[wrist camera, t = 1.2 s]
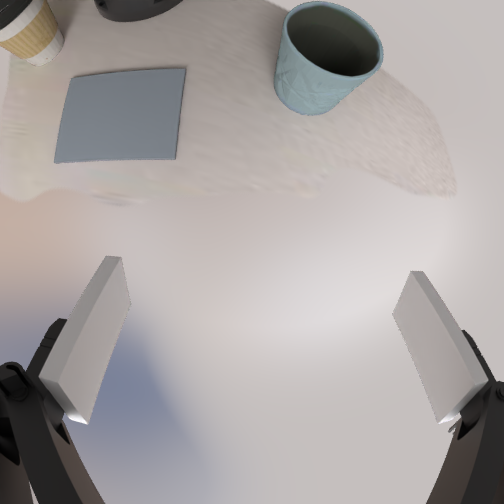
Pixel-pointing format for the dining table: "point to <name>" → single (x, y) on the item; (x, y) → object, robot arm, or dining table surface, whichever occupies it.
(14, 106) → the dining table surface
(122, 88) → the slate mat
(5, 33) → the coffee cup
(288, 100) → the embossed teal cup
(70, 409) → the robot arm
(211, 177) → the dining table surface
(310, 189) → the dining table surface
